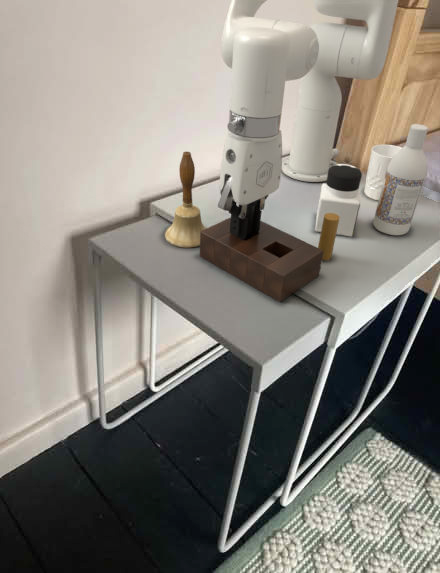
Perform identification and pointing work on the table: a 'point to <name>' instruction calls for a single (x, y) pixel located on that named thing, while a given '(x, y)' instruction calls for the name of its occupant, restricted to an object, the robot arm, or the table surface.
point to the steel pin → (249, 219)
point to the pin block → (262, 258)
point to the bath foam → (402, 185)
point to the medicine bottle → (340, 198)
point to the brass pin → (328, 234)
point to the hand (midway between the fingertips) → (244, 232)
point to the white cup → (378, 168)
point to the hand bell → (186, 211)
